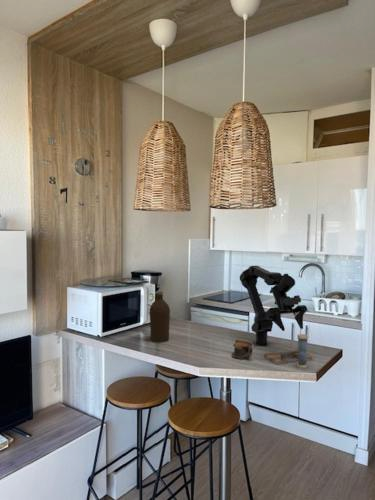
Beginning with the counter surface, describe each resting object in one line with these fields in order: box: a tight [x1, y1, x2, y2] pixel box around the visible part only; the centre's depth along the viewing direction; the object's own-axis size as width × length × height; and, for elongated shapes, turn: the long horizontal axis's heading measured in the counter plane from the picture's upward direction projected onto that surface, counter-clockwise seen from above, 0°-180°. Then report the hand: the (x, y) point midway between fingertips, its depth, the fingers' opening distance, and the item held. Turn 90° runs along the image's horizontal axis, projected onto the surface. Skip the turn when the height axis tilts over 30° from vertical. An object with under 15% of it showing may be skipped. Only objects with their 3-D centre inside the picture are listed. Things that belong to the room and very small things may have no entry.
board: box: [263, 349, 313, 365], centre depth 162 cm, size 10×18×4 cm, turn 109°
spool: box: [296, 333, 308, 369], centre depth 152 cm, size 4×4×13 cm
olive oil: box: [148, 291, 171, 343], centre depth 191 cm, size 11×11×25 cm
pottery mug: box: [231, 339, 254, 360], centre depth 164 cm, size 12×10×8 cm
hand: (293, 329), depth 158 cm, fingers open, 9 cm apart
